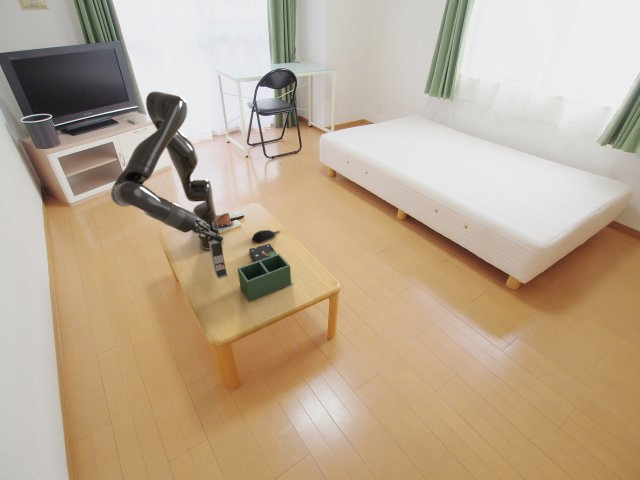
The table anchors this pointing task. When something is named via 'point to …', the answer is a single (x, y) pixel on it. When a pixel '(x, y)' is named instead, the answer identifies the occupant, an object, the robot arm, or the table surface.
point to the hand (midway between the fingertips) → (219, 236)
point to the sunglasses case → (223, 220)
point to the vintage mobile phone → (217, 257)
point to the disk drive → (262, 252)
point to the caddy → (264, 276)
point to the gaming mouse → (263, 236)
